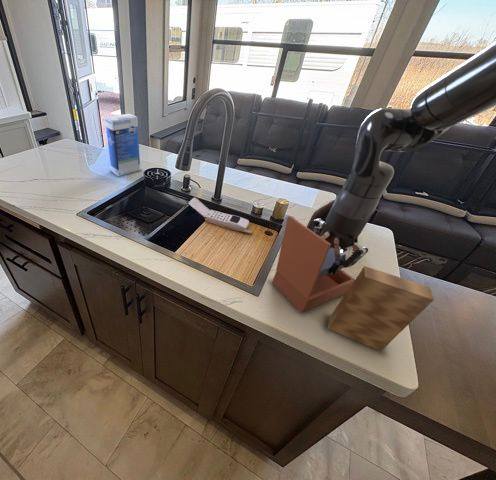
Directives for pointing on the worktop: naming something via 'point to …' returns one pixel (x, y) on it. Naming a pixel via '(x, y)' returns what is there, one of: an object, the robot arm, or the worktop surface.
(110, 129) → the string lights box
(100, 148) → the worktop surface
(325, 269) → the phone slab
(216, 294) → the worktop surface
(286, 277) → the cover
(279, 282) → the case
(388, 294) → the wooden block
